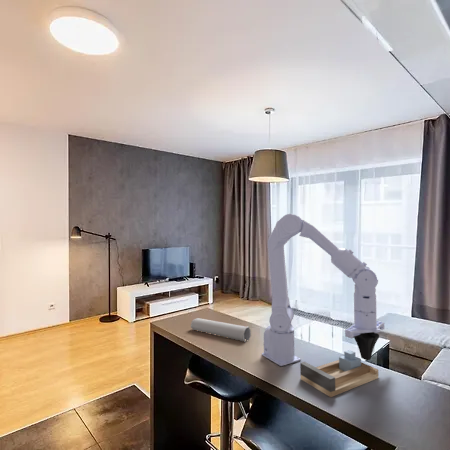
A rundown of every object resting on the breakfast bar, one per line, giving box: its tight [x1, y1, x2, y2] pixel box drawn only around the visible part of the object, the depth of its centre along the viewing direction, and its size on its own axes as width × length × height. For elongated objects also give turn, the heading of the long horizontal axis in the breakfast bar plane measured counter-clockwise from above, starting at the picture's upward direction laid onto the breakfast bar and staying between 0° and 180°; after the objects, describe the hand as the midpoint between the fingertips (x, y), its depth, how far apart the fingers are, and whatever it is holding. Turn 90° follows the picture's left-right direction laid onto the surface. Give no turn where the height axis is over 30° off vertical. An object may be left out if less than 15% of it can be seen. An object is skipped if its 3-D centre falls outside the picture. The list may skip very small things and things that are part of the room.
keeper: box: [338, 349, 362, 372], centre depth 82 cm, size 4×4×5 cm
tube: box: [190, 317, 252, 343], centre depth 114 cm, size 5×5×25 cm
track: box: [299, 359, 379, 398], centre depth 80 cm, size 10×18×4 cm, turn 119°
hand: (365, 358), depth 85 cm, fingers closed
